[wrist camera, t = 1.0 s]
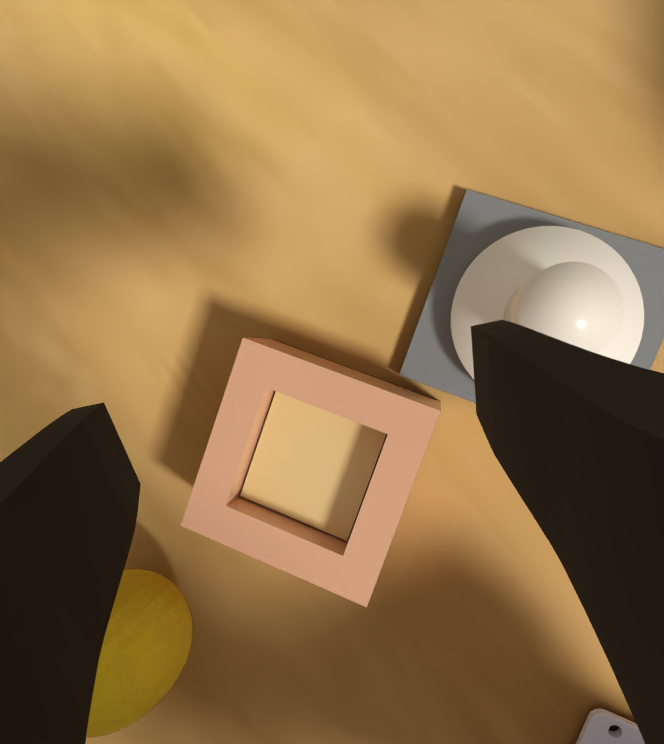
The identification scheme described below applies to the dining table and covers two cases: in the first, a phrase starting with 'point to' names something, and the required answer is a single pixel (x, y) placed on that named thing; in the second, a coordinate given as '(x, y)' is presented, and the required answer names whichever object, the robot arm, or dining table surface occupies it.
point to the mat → (473, 235)
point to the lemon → (139, 650)
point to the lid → (552, 292)
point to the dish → (334, 399)
